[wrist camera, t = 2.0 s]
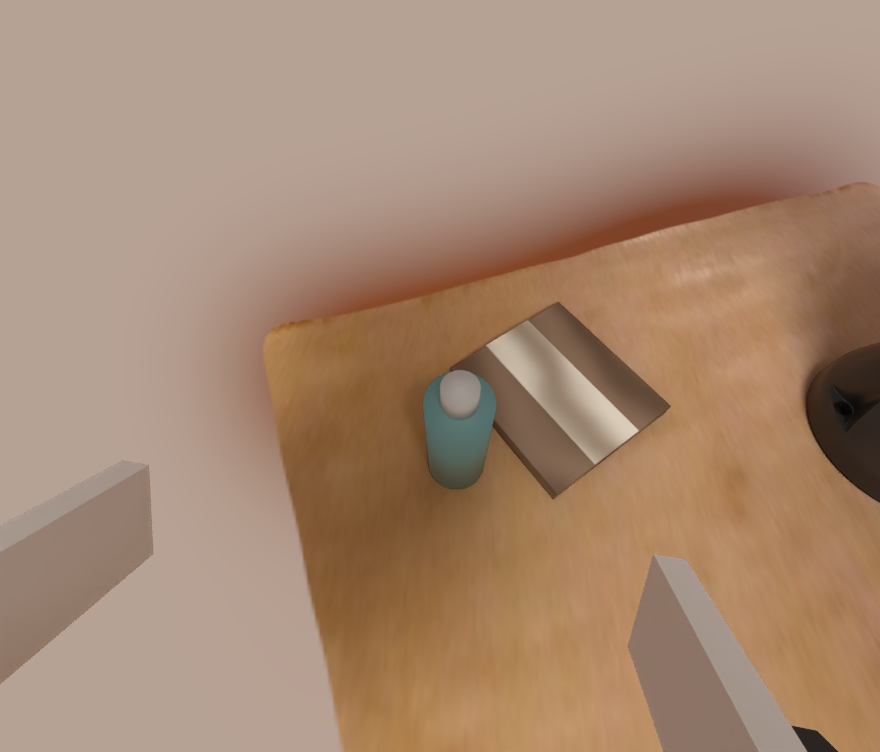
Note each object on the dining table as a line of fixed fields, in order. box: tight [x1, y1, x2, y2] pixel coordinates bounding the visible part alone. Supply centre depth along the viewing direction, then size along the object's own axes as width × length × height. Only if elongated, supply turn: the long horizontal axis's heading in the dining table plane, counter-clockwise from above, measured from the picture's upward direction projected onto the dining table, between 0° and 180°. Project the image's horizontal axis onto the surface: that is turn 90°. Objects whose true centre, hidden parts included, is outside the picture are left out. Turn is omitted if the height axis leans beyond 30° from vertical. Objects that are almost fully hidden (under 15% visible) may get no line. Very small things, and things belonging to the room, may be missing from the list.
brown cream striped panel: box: [451, 302, 671, 499], centre depth 40 cm, size 13×14×2 cm
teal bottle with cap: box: [423, 370, 496, 489], centre depth 32 cm, size 5×5×13 cm
